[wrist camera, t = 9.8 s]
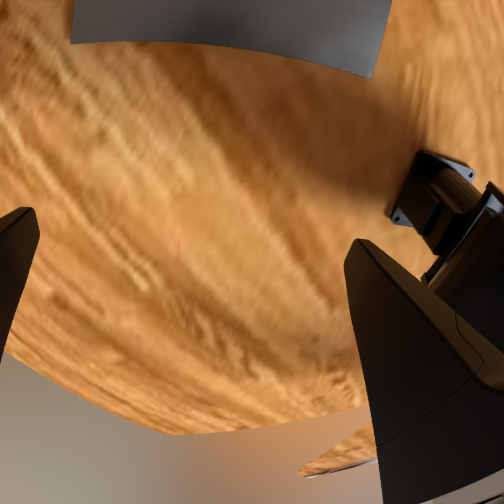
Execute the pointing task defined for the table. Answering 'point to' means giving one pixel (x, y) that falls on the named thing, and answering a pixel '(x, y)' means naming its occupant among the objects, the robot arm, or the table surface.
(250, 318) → the table surface
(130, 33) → the stand base
